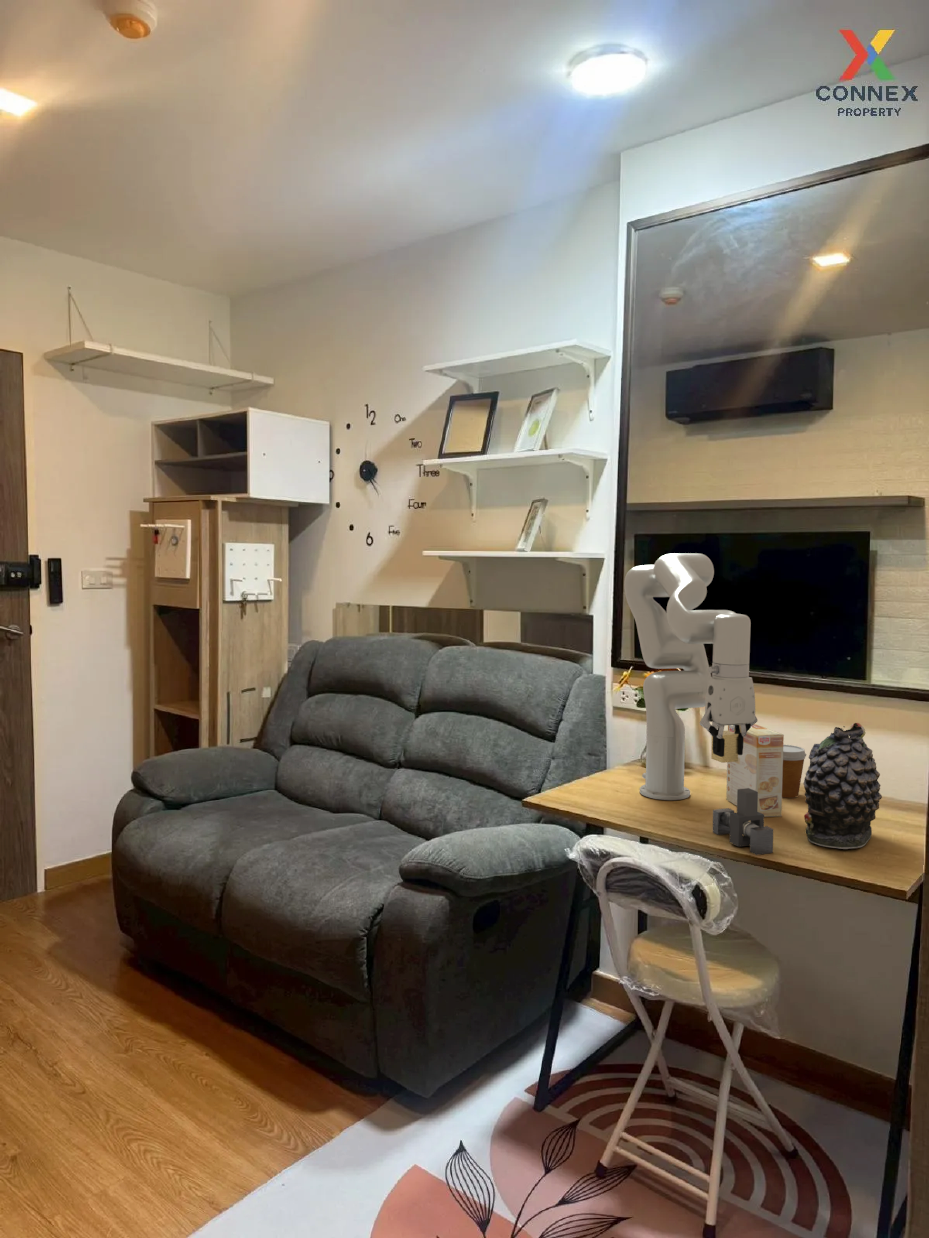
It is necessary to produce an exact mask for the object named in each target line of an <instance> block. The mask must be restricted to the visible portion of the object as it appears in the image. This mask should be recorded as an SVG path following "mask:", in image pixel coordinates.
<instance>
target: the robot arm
mask: <svg viewBox="0 0 929 1238" xmlns="http://www.w3.org/2000/svg"><path fill="white" fill-rule="evenodd" d="M714 575H715V568H714V564H713V562H712V560H711V559H710V558H709V557H708V556H707V555H706V554H703V553H697V552H695V553H691V552H690V553H689V552H688V553H686V552H685V553H680V552H679V553H675V552H674V553H666V554H664V555H661V556H660V557H659V558H657V560H655V562H654V564H644V565H643V564H642V565H636V566H634V567H631V569H629V570H628V571H627V572H626V575H625V577H624V594H625V599H626V603H627V605H628V607H629V609H630V611H631V614H632V616H633V618H634V620H635V624H636V629H637V635H638V640H639V644H640V646H639V647H640V651H641V654H642V658H643V661H644V663H645V665H646V667H648V668H651V669H659V670H660V669H661V670H662V669H663V670H662V671H655V672H652V673H650V674H649V675H647V676H646V677H645V679H644V681H643V692H642V693H643V697H644V698H643V699H644V706H645V714H646V715H645V716H646V745H645V746H646V753H645V755H646V761H645V763H646V764H645V767H646V769H645V772H643V773H642V775H641V777H642V778H643V779H645V784H642V785H641V786H640V787H639V793H640V794H641V795H642V796H644V797H646V798H650V799H654V800H659V801H661V800H662V801H681V800H685V799H688V798H689V797H690V796H691V789H689V788H688V787H686V786H685V754H686V753H685V749H686V748H685V747H686V745H685V744H686V743H685V742H686V740H685V739H686V735H685V734H686V729H685V727H686V726H685V724H684V721H683V719H682V718H681V717H680V716H679V714H678V712H677V710H678V709H679V710H680V709H694V708H695V709H698V708H704V714H703V716H702V718H701V720H700V721H699V725H700V726H701V727H702V728H704V729H705V730H706V731H707V732H708V733H709V734H710V736H711V737H712V736H713V754H715V755H718V756H720V757H723V756H724V747H725V739H724V738H722V736H723V731H725V726H728V725H733V727H734V733H737V734H738V755H742V754H743V740H744V737H745V736H746V733H747V731H748V730H749V729H750V728H751V726H753V725H754V724H757V723H758V718H757V716H756V695H755V686H754V685H755V684H754V681H753V677H750V673H749V672H750V653H751V624H752V623H751V619H750V617H749V616H748V615H747V614H741V613H736V612H735V611H732V610H728V609H696V608H698V607H699V606H700V605H701V604H702V603H703V601H705V599H706V597H707V593H708V590H707V587H708V586H709V585H710V584H711V583H712V581H713V578H714ZM654 598H669V599H668V601H667V603H666V604H667V606H666V610H665V609H664V608H663V607H662V606H661V604H660V603H658V602H657V601H656V600H655V599H654ZM694 609H695V610H694ZM705 644H710V645H711V644H712V663H711V664H712V665H711V666H710V665H709V661H708V657H707V653H706V648H705ZM664 669H667V670H664ZM668 669H683V670H668Z"/></svg>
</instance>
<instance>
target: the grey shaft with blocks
mask: <svg viewBox="0 0 929 1238" xmlns="http://www.w3.org/2000/svg"><path fill="white" fill-rule="evenodd" d="M730 813H735V810H733V809H731V808H729V807H728V808H717V809H713V810H712V833H713V834H715V835H717V836H718V835H719V836H720V835H730ZM743 836H745V837H747V838H750V845H749V852H750V853H752V854H753V855H755V856H758V855H765V854H766V855H768V854H773V853H774V851H773V850H774V849H773V847H774V828H772V827H770V826H768V825H766V826H765V825H764V826H763V827H760V826H757V825H756V824H755V823H753V822H751V821H745V822H743Z"/></svg>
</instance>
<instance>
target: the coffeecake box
mask: <svg viewBox="0 0 929 1238" xmlns="http://www.w3.org/2000/svg"><path fill="white" fill-rule="evenodd" d="M727 731H730V732H734V727H733V725H727ZM784 736H785V735H784V734H783V733H780V732H777V731H776V730H772V729H770V728H768V727H764V726H762V725H760V724H757V723H755V724H754V725H753V726H751V728H750V729H749V730H748V731H747V733H746V736H745V737H744V740H743V754H742V755H738V761H736V762H726V764H727V765H726V796H725V797H726V798H725V799H726V801H727V802H729V803H732V804H733V805H735V806H736V807H737V791H738V789H745V788H750V789H752V790H755V791H757V792H758V807H757V812H759V813H762V814H764V818H767V817H768V818H771V817H773V818H774V817H783V815H782V809H783V808H782V807H783V797H782V777H783V745H784V739H785V738H784Z"/></svg>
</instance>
